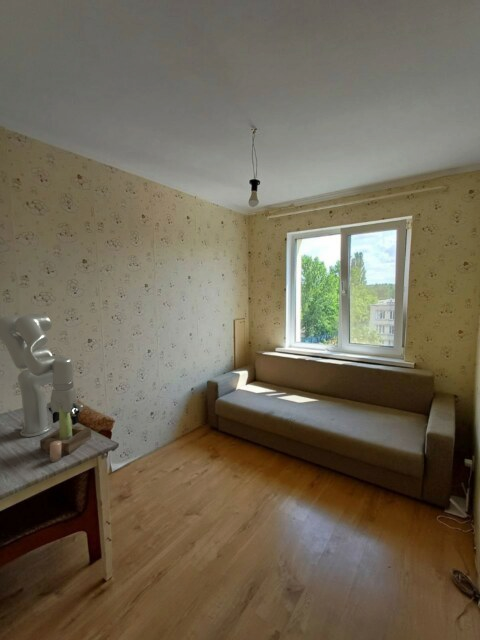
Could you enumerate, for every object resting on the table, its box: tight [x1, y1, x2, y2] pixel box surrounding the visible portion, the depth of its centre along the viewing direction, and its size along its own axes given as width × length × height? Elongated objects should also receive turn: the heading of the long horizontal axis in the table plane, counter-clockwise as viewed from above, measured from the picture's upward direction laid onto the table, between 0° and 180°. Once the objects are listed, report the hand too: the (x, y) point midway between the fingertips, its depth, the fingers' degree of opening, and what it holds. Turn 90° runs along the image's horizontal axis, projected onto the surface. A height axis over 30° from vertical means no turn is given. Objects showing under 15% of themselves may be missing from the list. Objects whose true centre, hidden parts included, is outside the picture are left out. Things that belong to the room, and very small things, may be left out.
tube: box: [58, 406, 72, 440], centre depth 130 cm, size 6×5×20 cm
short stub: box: [49, 441, 62, 463], centre depth 119 cm, size 4×4×7 cm
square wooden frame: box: [39, 425, 92, 455], centre depth 130 cm, size 14×14×5 cm
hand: (65, 422), depth 129 cm, fingers open, 9 cm apart
